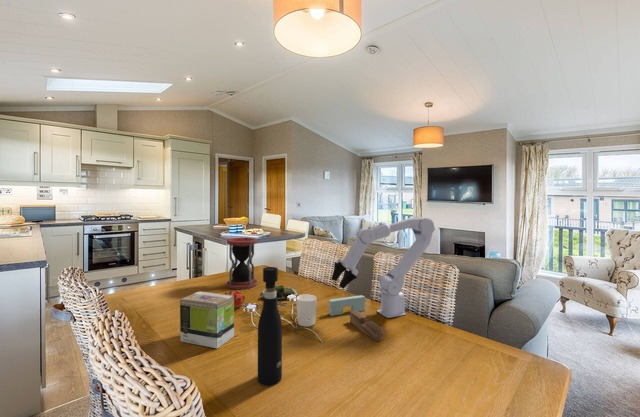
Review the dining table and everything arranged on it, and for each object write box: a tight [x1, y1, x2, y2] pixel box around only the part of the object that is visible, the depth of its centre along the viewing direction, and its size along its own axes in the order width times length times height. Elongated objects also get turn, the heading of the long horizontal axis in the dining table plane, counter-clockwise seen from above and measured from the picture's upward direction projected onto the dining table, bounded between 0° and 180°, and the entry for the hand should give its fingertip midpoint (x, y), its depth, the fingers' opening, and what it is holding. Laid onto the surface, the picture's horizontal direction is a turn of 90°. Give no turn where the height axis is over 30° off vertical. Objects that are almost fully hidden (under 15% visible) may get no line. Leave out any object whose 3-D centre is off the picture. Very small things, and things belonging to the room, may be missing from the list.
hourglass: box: [226, 237, 258, 290], centre depth 167 cm, size 16×16×25 cm
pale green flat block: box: [328, 294, 366, 317], centre depth 131 cm, size 16×2×6 cm, turn 113°
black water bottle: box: [257, 266, 283, 387], centre depth 82 cm, size 6×6×30 cm
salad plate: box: [259, 284, 298, 302], centre depth 153 cm, size 19×18×5 cm
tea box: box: [179, 290, 235, 349], centre depth 105 cm, size 15×10×15 cm, turn 71°
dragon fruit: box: [224, 289, 246, 311], centre depth 133 cm, size 8×8×12 cm
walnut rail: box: [349, 310, 384, 343], centre depth 113 cm, size 3×18×4 cm, turn 23°
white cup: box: [296, 293, 318, 327], centre depth 119 cm, size 8×8×10 cm
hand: (337, 283), depth 125 cm, fingers open, 7 cm apart
